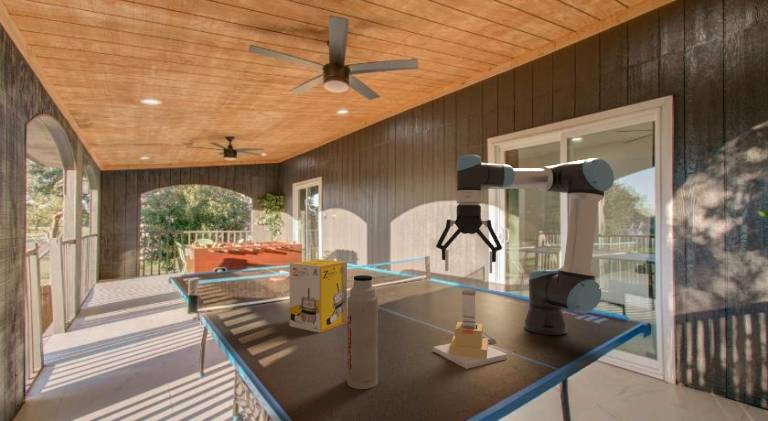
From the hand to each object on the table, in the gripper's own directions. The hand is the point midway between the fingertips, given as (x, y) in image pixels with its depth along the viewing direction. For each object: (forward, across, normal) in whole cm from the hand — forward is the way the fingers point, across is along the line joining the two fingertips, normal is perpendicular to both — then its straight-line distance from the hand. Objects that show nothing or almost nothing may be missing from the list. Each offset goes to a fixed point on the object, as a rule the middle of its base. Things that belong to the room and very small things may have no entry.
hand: (468, 271), depth 120 cm
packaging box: (+27, -60, +17) cm, 68 cm away
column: (+24, 0, 0) cm, 24 cm away
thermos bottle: (+27, -25, -28) cm, 46 cm away
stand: (+26, 0, 0) cm, 26 cm away
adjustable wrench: (+27, +1, +24) cm, 36 cm away
